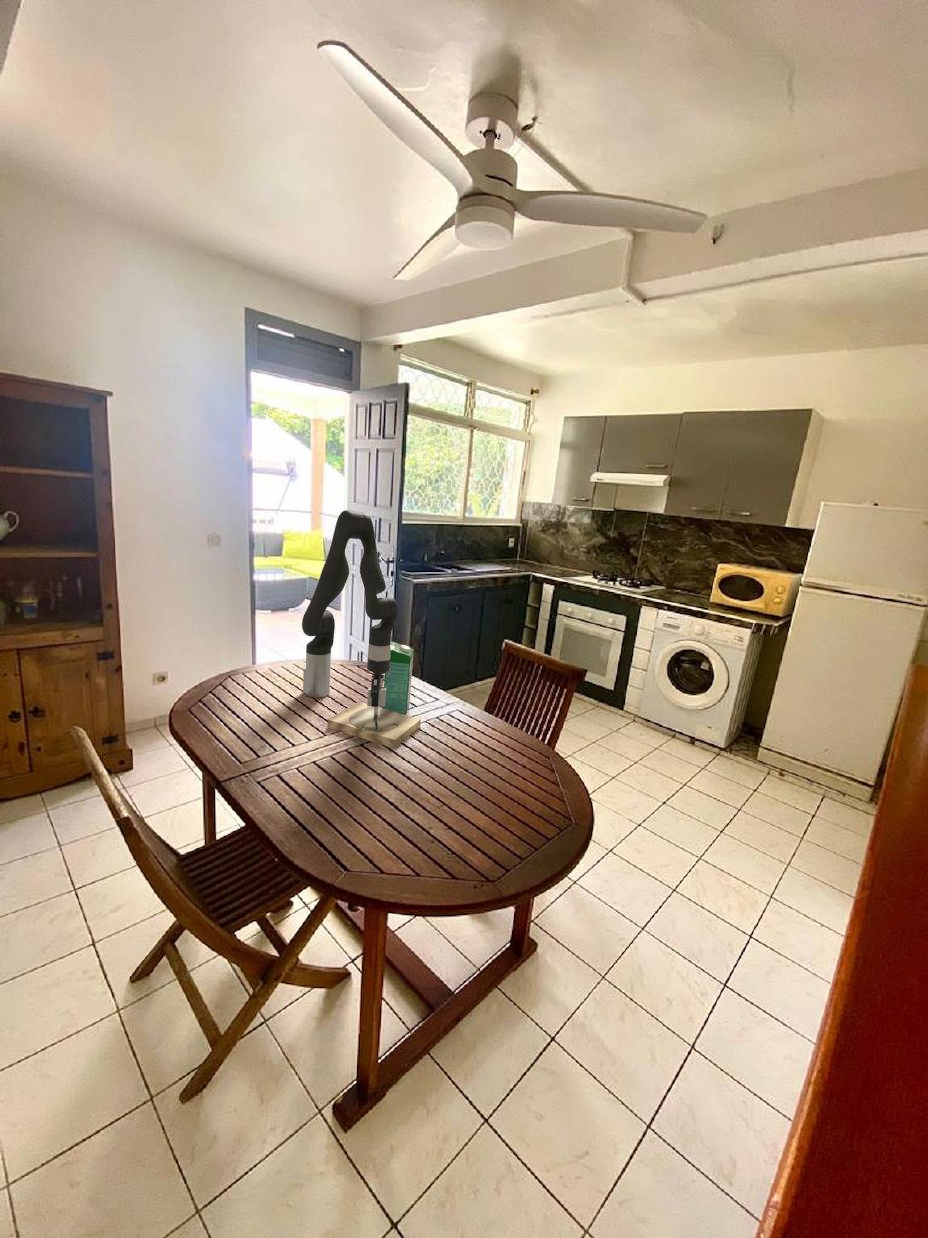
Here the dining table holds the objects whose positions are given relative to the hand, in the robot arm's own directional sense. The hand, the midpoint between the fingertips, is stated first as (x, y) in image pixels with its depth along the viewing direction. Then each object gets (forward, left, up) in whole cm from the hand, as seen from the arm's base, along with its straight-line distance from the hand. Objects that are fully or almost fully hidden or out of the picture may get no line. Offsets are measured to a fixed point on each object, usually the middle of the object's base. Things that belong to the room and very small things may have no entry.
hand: (376, 701), depth 170 cm
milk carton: (-2, +18, -10) cm, 21 cm away
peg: (+2, -3, -6) cm, 8 cm away
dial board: (0, 0, -10) cm, 10 cm away
